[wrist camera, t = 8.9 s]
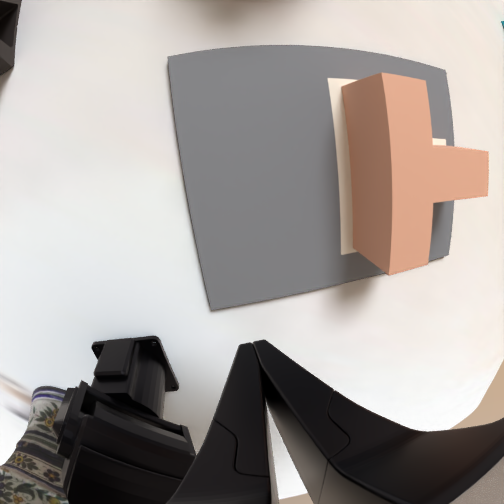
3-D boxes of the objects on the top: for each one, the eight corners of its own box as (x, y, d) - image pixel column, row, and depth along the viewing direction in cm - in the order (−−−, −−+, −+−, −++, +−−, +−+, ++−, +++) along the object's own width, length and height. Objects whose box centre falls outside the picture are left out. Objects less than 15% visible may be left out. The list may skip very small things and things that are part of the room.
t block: (444, 228, 21) (481, 246, 17) (352, 247, 20) (388, 275, 16) (441, 99, 17) (483, 97, 12) (341, 86, 16) (381, 72, 11)
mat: (445, 253, 23) (448, 255, 23) (210, 306, 21) (211, 310, 20) (441, 70, 16) (445, 70, 16) (168, 59, 14) (167, 56, 14)
